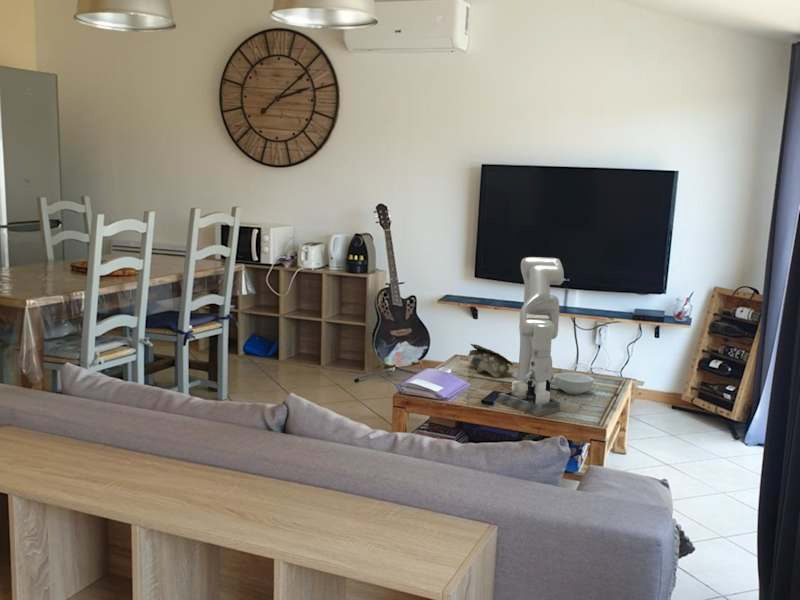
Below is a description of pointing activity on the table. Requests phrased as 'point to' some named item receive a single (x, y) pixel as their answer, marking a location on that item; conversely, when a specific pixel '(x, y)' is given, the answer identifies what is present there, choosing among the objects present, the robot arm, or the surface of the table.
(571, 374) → the cereal bowl
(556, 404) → the rail rack
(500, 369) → the hollow geode rock
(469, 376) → the table surface
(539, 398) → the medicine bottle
